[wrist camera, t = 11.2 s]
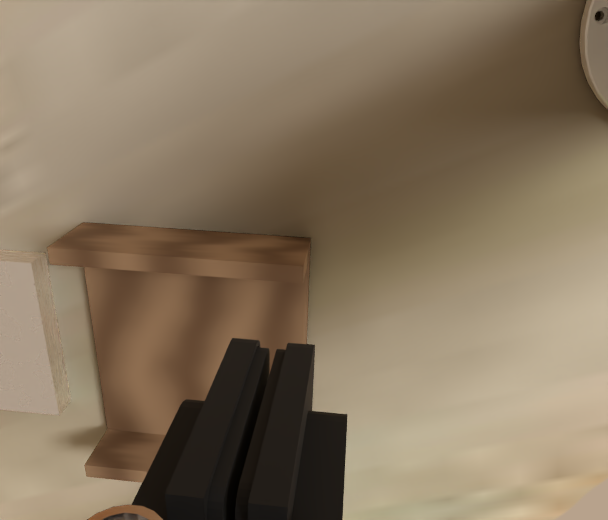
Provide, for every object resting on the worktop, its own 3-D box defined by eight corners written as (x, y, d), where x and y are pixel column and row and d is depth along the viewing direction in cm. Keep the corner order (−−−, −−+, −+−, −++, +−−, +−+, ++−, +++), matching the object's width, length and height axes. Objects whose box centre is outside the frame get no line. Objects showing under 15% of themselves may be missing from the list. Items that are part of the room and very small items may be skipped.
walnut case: (310, 237, 39) (303, 266, 34) (302, 452, 47) (295, 499, 42) (83, 222, 40) (46, 247, 35) (112, 433, 48) (86, 476, 43)
